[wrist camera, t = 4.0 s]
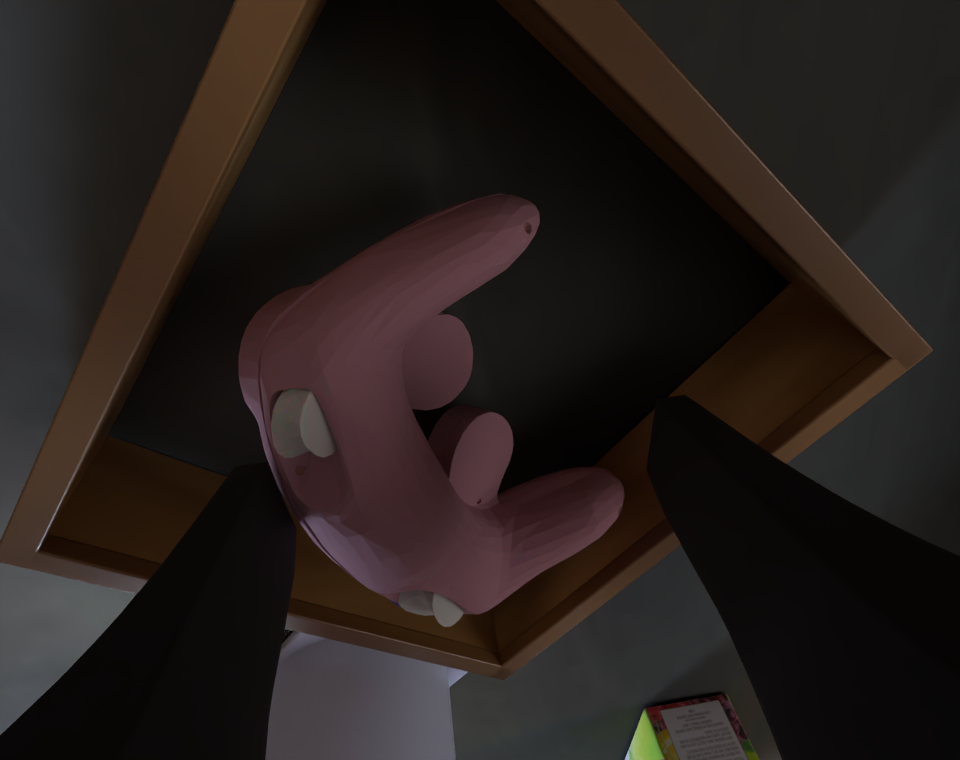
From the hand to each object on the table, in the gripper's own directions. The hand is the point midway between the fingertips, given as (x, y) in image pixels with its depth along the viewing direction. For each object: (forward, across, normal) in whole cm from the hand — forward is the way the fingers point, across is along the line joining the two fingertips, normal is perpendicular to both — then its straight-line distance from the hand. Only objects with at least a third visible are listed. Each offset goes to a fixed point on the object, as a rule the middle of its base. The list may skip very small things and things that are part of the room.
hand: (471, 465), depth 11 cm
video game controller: (+4, -1, 0) cm, 4 cm away
